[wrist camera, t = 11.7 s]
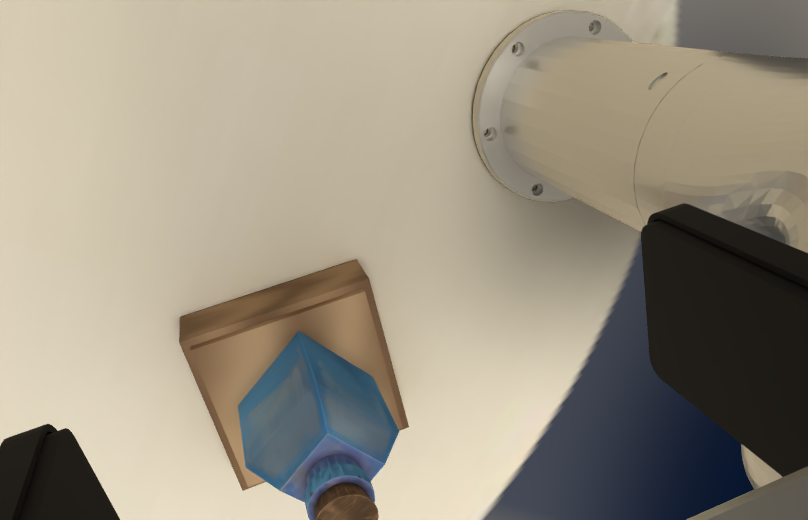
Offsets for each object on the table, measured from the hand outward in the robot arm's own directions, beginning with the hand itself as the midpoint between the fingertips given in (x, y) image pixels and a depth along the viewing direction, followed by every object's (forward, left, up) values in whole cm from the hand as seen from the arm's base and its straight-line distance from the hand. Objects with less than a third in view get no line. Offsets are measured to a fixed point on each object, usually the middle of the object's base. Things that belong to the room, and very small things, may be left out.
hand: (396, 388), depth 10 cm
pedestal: (+2, +18, -32) cm, 37 cm away
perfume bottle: (+2, +18, -28) cm, 34 cm away
